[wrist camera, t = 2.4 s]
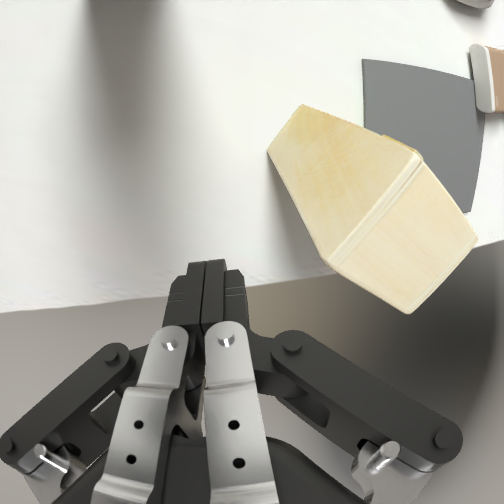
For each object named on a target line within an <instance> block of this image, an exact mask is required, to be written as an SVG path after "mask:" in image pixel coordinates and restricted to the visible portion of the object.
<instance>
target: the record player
mask: <svg viewBox="0 0 504 504" xmlns="http://www.w3.org/2000/svg"><path fill="white" fill-rule="evenodd" d="M469 50H470V55H471V62H472V68H473V76H474V84H475V95H476V106H477V108H478V109H479V110H480V111H482V112H485V113H504V46H499V47H498V48H497V49H495V48H491V47H487V46H482V45H477V44H474V45H471V46H470V48H469Z"/></svg>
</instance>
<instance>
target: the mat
mask: <svg viewBox="0 0 504 504" xmlns="http://www.w3.org/2000/svg"><path fill="white" fill-rule="evenodd" d="M362 71H363V95H364V128H365V129H368V130H370V131H372V132H374V133H377V134H379V135H381V136H382V135H386V136H388V137H390V138H392V139H395V140H397V141H399V142H401V143H403V144H405V145H407V146H409V147H411V148H413V149H415V150H417V151H418V152H419V153H420V155H421V156H422V157H423V159H424V161H423V162H424V163H425V164H426V165H427V166H428V167H429V169H430V170H431V171H432V172H433V174H434V175H435V176H436V177H437V179H438V180H439V181H440V182H441V184H442V185H443V186H444V188H445V189H446V190H447V192H448V193H449V194H450V196H451V197H452V198H453V200H454V201H455V203H456V204H457V205H458V207H459V208H460V210H461V211H462V212H471V208H472V203H473V199H474V194H475V189H476V183H477V178H478V172H479V166H480V159H481V151H482V143H483V133H484V121H485V112H482V111H480V110H479V109H478V108H477V106H476V95H475V84H474V80H470V79H467V78H464V77H460V76H456V75H453V74H449V73H445V72H440V71H436V70H432V69H427V68H422V67H417V66H412V65H406V64H400V63H393V62H386V61H378V60H369V59H362Z"/></svg>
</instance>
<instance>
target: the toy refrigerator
mask: <svg viewBox="0 0 504 504" xmlns="http://www.w3.org/2000/svg"><path fill="white" fill-rule="evenodd" d="M267 153H268V154H269V156H270V158H271V160H272V162H273V164H274V165H275V167H276V169H277V171H278V173H279V175H280V177H281V179H282V181H283V183H284V185H285V187H286V188H287V190H288V192H289V194H290V196H291V198H292V200H293V202H294V204H295V206H296V208H297V210H298V213H299V215H300V217H301V219H302V220H303V222H304V224H305V226H306V228H307V230H308V232H309V234H310V237H311V239H312V241H313V243H314V245H315V247H316V250H317V252H318V254H319V256H320V258H321V259H322V261H323V262H324V263H325V264H326V265H327V266H328V267H329V268H331V269H332V270H334V271H335V272H337V273H338V274H340V275H342V276H343V277H345V278H346V279H348V280H350V281H352V282H353V283H355V284H357V285H358V286H360V287H362V288H363V289H365V290H367V291H369V292H370V293H372V294H374V295H375V296H377V297H379V298H380V299H382V300H384V301H385V302H387V303H388V304H390V305H392V306H393V307H395V308H397V309H398V310H400V311H401V312H403V313H406V314H410V313H412V312H413V311H414V310H415V309H416V308H417V307H418V306H419V305H421V303H423V301H424V300H426V298H428V297H429V296H430V295H431V294H432V293H433V291H435V290H436V288H437V287H438V286H439V285H440V284H441V283H442V282H443V281H444V280H445V279H446V278H447V277H448V276H449V275H450V273H451V272H452V271H453V270H454V269H455V268H456V267H457V265H458V264H459V263H460V262H461V261H462V260H463V259H464V258H465V257H466V255H467V254H468V253H469V252H470V250H471V249H472V248H473V247H474V245H475V244H476V242H477V240H478V237H477V235H476V233H475V231H474V229H473V228H472V226H471V225H470V223H469V222H468V220H467V219H466V217H465V216H464V214H463V213H462V211H461V210H460V208H459V207H458V205H457V204H456V203H455V201H454V200H453V198H452V197H451V196H450V194H449V193H448V192H447V190H446V189H445V188H444V186H443V185H442V184H441V182H440V181H439V180H438V179H437V177H436V176H435V175H434V174H433V172H432V171H431V170H430V169H429V167H428V166H427V165H426V164H425V163H424V162H423V161H424V159H423V157H422V156H421V155H420V153H419V152H418V151H417V150H415V149H413V148H411V147H409V146H407V145H405V144H403V143H401V142H399V141H397V140H395V139H392V138H390V137H388V136H386V135H382V136H381V135H379V134H377V133H374V132H372V131H370V130H368V129H365V128H363V127H361V126H358V125H356V124H354V123H351V122H349V121H346V120H344V119H341V118H338V117H336V116H333V115H330V114H328V113H325V112H322V111H320V110H317V109H314V108H311V107H309V106H306V105H303V104H302V105H300V106H299V107H298V109H297V110H296V111H295V112H294V114H293V115H292V116H291V118H290V119H289V120H288V122H287V123H286V124H285V126H284V127H283V128H282V130H281V131H280V132H279V134H278V135H277V136H276V138H275V139H274V141H273V142H272V143H271V145H270V146H269V148H268V149H267Z"/></svg>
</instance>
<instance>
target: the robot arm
mask: <svg viewBox="0 0 504 504" xmlns="http://www.w3.org/2000/svg"><path fill="white" fill-rule="evenodd" d="M169 294H170V295H169V297H168V303H167V306H166V311H165V316H164V320H163V325H162V328H161V329H159V330H158V331H157V332H155V333H154V334H153V336H152V338H151V340H150V343H149V344H148V345H146V346H143V347H140V348H136V349H133V350H130V351H129V350H128V348H127V347H126V346H125V345H124V344H122V343H111V344H108V345H106V346H104V347H103V348H101V349H100V350H99V351H98V352H97V353H96V354H94V355H93V356H92V357H91V358H90V359H88V360H87V361H86V362H85V363H84V364H83V365H81V366H80V367H79V368H78V369H77V370H76V371H74V372H73V373H72V374H71V375H70V376H69V377H67V378H66V379H65V380H64V381H63V382H62V383H61V384H59V385H58V386H57V387H56V388H55V389H54V390H52V391H51V392H50V393H49V394H48V395H47V396H46V397H44V398H43V399H42V400H41V401H40V402H39V403H38V404H36V405H35V406H34V407H33V408H32V409H31V410H30V411H28V412H27V413H26V414H25V415H24V416H23V417H22V418H21V419H20V420H19V421H17V422H16V423H15V424H14V425H13V426H12V427H11V428H9V429H8V430H7V431H6V432H5V433H4V434H3V435H2V436H1V438H0V458H1V460H2V461H3V462H4V463H6V464H7V465H9V466H11V467H12V468H14V469H16V470H18V471H19V472H20V473H21V474H23V476H24V478H25V480H26V481H27V483H28V485H29V487H30V488H31V490H32V491H33V493H34V495H35V497H36V498H37V500H38V501H39V503H40V504H412V503H413V501H414V500H415V499H416V497H417V496H418V495H419V493H420V492H421V490H422V489H423V487H424V486H425V484H426V483H427V482H428V480H429V479H430V477H431V475H432V474H433V473H434V472H435V471H436V470H437V469H439V468H440V467H442V466H443V465H445V464H447V463H448V462H450V461H451V460H452V459H454V458H455V457H456V456H457V455H458V453H459V452H460V450H461V447H462V443H463V437H462V433H461V430H460V428H459V427H458V426H457V425H456V424H455V423H454V422H452V421H451V420H449V419H447V418H445V417H443V416H442V415H440V414H438V413H436V412H435V411H433V410H431V409H429V408H428V407H426V406H424V405H422V404H420V403H419V402H417V401H415V400H414V399H412V398H410V397H408V396H407V395H405V394H403V393H402V392H400V391H398V390H397V389H395V388H393V387H391V386H390V385H388V384H386V383H385V382H383V381H382V380H380V379H378V378H377V377H375V376H373V375H372V374H370V373H368V372H367V371H365V370H363V369H362V368H360V367H359V366H357V365H355V364H354V363H352V362H351V361H349V360H347V359H346V358H344V357H342V356H341V355H339V354H338V353H336V352H335V351H333V350H331V349H330V348H328V347H327V346H325V345H324V344H322V343H320V342H319V341H317V340H316V339H314V338H313V337H311V336H310V335H308V334H306V333H304V332H301V331H297V330H289V331H285V332H282V333H280V334H278V335H277V336H276V337H275V338H267V337H262V336H259V335H257V334H255V333H254V332H252V331H251V330H250V326H249V315H248V302H247V296H246V290H245V282H244V276H243V275H242V274H241V272H240V271H239V270H238V269H237V270H228V271H227V267H226V262H225V259H218V260H209V261H201V262H192V263H189V264H188V268H187V274H186V275H183V276H178V277H177V278H176V279H175V280H174V282H173V283H172V284H171V288H170V293H169ZM205 365H206V377H207V388H205V386H206V378H205V376H204V374H205ZM113 390H115V393H114V394H112V395H111V396H110V397H109V398H108V399H107V400H106V401H105V402H104V403H103V404H101V405H100V406H99V407H98V408H97V409H96V410H95V411H92V412H91V410H92V409H93V408H94V407H96V406H97V405H98V404H99V403H100V402H101V401H102V400H103V399H104V398H105V397H107V396H108V395H109V394H110V393H111V392H112V391H113ZM258 393H260V394H266V395H271V396H275V397H276V398H277V399H278V401H279V402H281V403H282V404H283V405H284V406H286V407H287V408H288V409H290V410H291V411H292V412H293V413H294V414H296V415H297V416H298V417H300V418H301V419H302V420H304V421H305V422H306V423H307V424H309V425H310V426H312V427H313V428H314V429H315V430H317V431H318V432H319V433H321V434H322V435H324V436H325V437H326V438H328V439H329V440H330V441H332V442H333V443H335V444H336V445H338V446H339V447H340V448H342V449H343V450H345V451H346V452H348V453H349V454H351V455H352V456H354V457H355V458H354V459H353V462H352V464H351V473H352V476H353V478H354V479H355V480H356V481H357V482H358V483H359V484H360V485H361V487H362V488H363V490H364V496H365V497H364V500H363V499H361V498H360V497H358V496H357V495H356V494H354V493H352V492H351V491H350V490H349V489H347V488H346V487H344V486H343V485H342V484H341V483H339V482H338V481H337V480H335V479H334V478H333V477H331V476H330V475H329V474H327V473H326V472H325V471H324V470H322V469H321V468H320V467H319V466H317V465H316V464H315V463H314V462H313V461H311V460H310V459H309V458H308V457H307V456H305V455H304V454H303V453H302V452H301V451H299V450H298V449H296V448H295V447H293V446H292V445H290V444H288V443H286V442H284V441H281V440H278V439H275V438H271V437H266V436H265V431H264V425H263V420H262V415H261V409H260V404H259V399H258ZM203 403H204V414H205V429H206V437H203V433H202V428H201V420H202V411H203ZM104 451H105V452H104ZM103 452H104V453H103ZM102 453H103V454H102ZM101 454H102V455H101ZM100 455H101V456H100ZM99 456H100V457H99ZM98 457H99V458H98ZM97 458H98V459H97ZM96 459H97V460H96ZM95 460H96V461H95ZM93 461H95V462H94V463H93V464H92V465H91V466H90V467H89V468H88V469H86V468H87V467H88V466H89V465H90V464H91V463H92V462H93Z"/></svg>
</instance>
